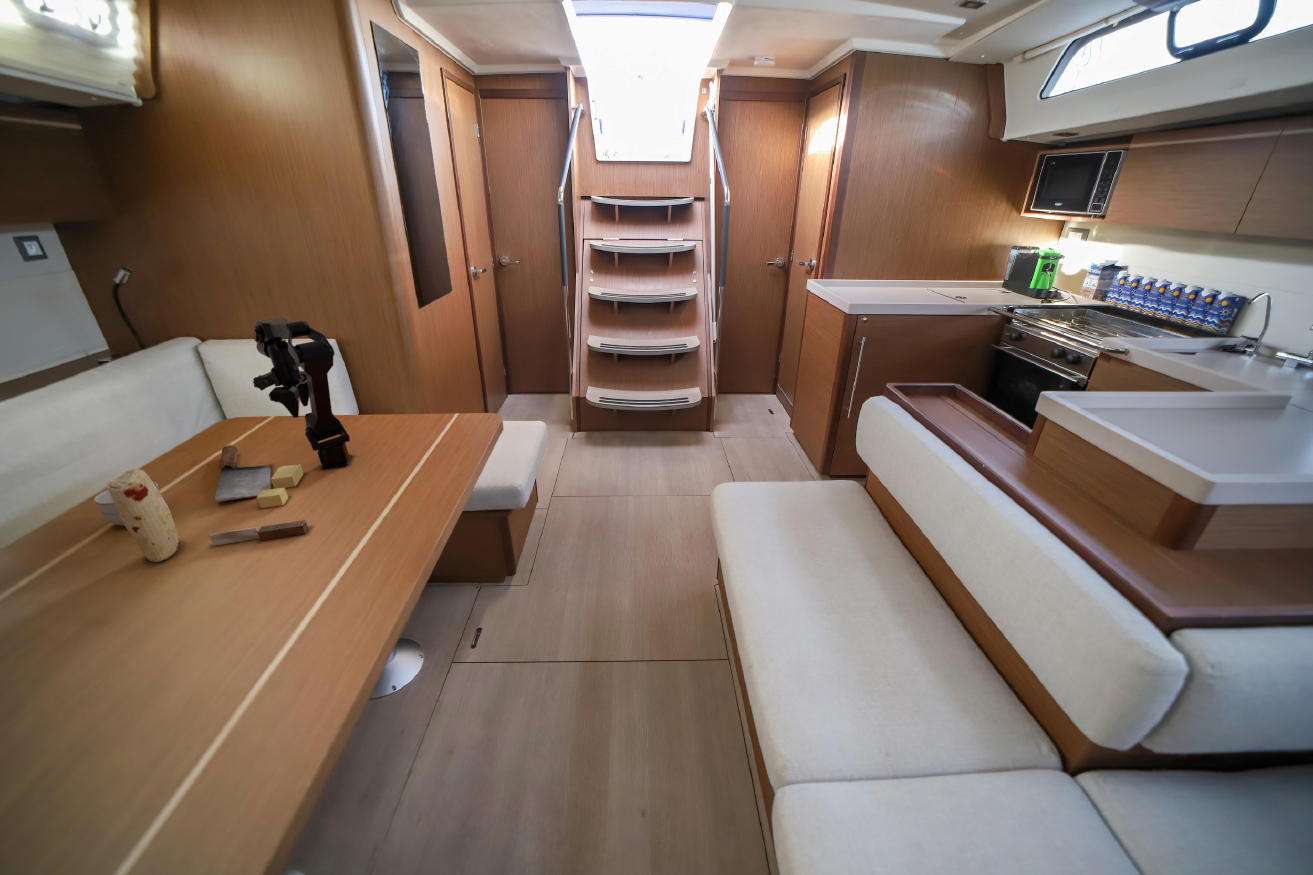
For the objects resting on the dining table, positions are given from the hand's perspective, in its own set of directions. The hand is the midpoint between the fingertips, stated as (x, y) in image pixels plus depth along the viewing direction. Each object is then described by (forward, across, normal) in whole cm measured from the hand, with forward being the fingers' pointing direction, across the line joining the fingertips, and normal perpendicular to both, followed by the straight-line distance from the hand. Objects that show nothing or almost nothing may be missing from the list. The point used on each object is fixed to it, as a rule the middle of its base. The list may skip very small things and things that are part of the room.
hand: (301, 411), depth 152 cm
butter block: (+12, +22, 0) cm, 25 cm away
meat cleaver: (+12, +14, -13) cm, 23 cm away
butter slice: (+12, +33, 0) cm, 35 cm away
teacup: (+12, +33, -28) cm, 45 cm away
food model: (+12, +49, -16) cm, 53 cm away
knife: (+12, +49, +2) cm, 50 cm away
